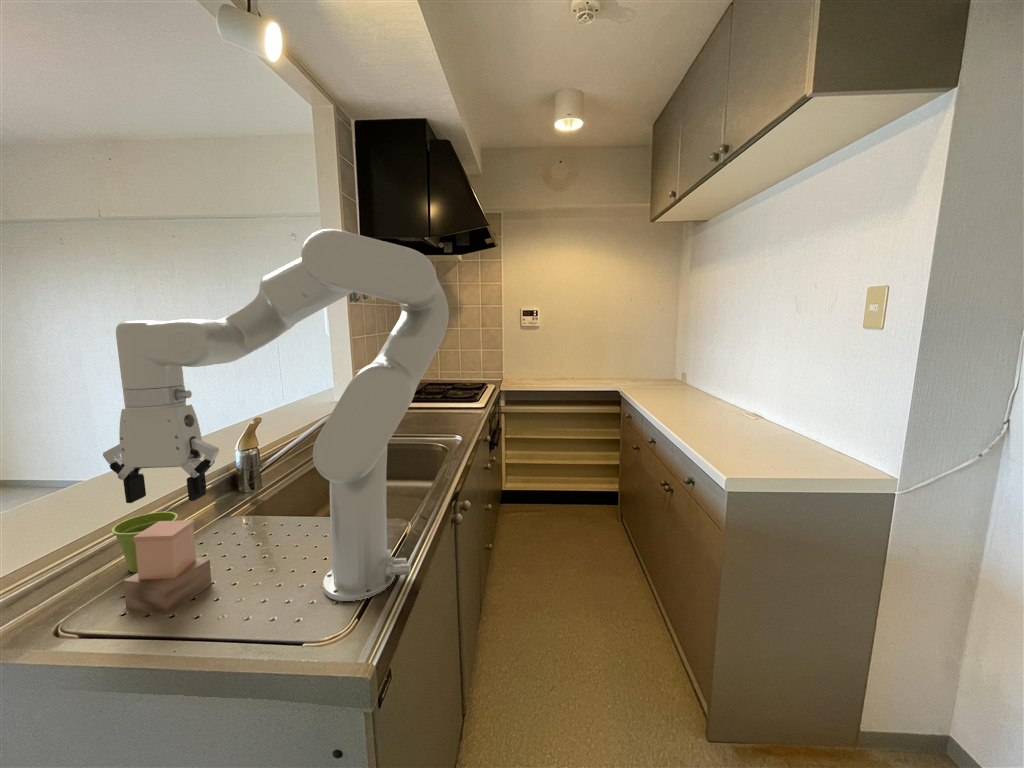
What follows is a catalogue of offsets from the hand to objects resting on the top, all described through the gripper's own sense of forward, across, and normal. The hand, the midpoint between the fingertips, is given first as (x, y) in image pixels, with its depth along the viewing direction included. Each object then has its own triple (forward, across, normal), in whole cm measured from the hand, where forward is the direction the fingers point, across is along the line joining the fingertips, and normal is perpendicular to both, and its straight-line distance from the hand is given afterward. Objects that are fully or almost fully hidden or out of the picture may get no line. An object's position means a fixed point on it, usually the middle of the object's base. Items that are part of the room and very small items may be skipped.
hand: (167, 498), depth 68 cm
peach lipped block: (+12, +1, 0) cm, 13 cm away
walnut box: (+18, +1, 0) cm, 18 cm away
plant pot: (+17, +12, -10) cm, 23 cm away
